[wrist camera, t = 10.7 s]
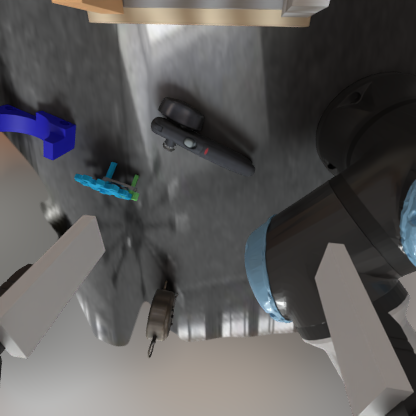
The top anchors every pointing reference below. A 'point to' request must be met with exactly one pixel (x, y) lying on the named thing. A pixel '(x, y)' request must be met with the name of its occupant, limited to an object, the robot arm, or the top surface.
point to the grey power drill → (160, 316)
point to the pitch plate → (215, 12)
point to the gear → (106, 185)
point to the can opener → (195, 137)
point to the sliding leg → (95, 5)
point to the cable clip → (40, 129)
